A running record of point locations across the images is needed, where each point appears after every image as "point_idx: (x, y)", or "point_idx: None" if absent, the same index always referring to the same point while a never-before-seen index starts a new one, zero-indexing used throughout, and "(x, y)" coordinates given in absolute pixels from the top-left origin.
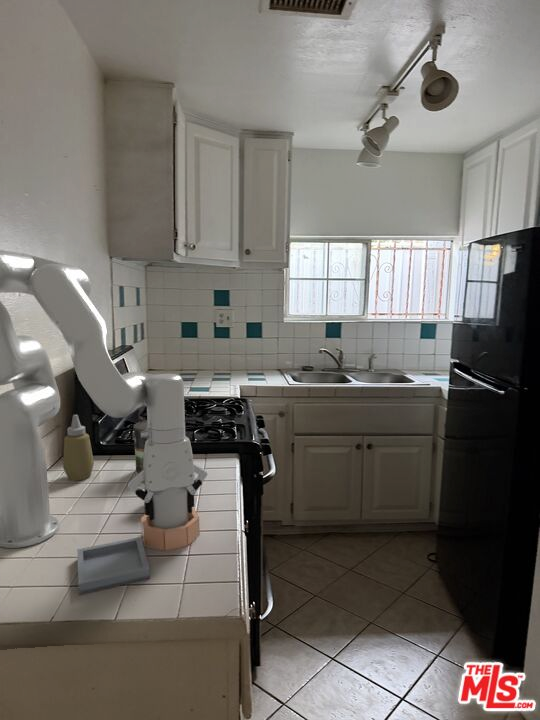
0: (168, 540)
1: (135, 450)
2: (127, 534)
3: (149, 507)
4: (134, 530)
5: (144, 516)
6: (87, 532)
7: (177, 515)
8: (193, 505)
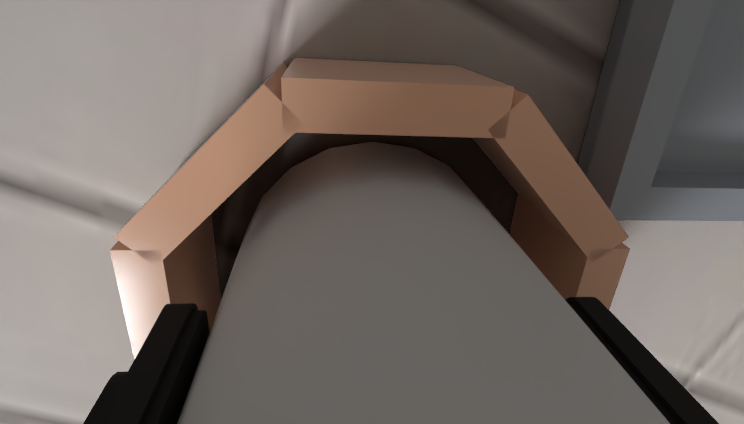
0: (452, 72)
1: None
2: None
3: (693, 402)
4: None
5: None
6: (721, 408)
7: (356, 232)
8: (120, 378)
